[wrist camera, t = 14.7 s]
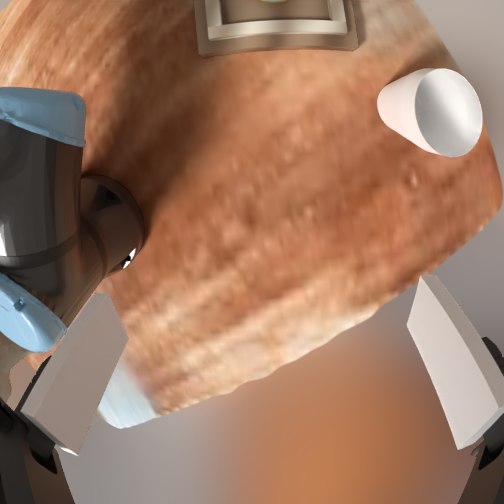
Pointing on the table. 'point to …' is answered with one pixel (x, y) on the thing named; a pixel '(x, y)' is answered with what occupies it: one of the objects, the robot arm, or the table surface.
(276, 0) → the bottle
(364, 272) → the table surface
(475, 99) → the cup
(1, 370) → the bust
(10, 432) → the robot arm
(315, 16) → the plinth
